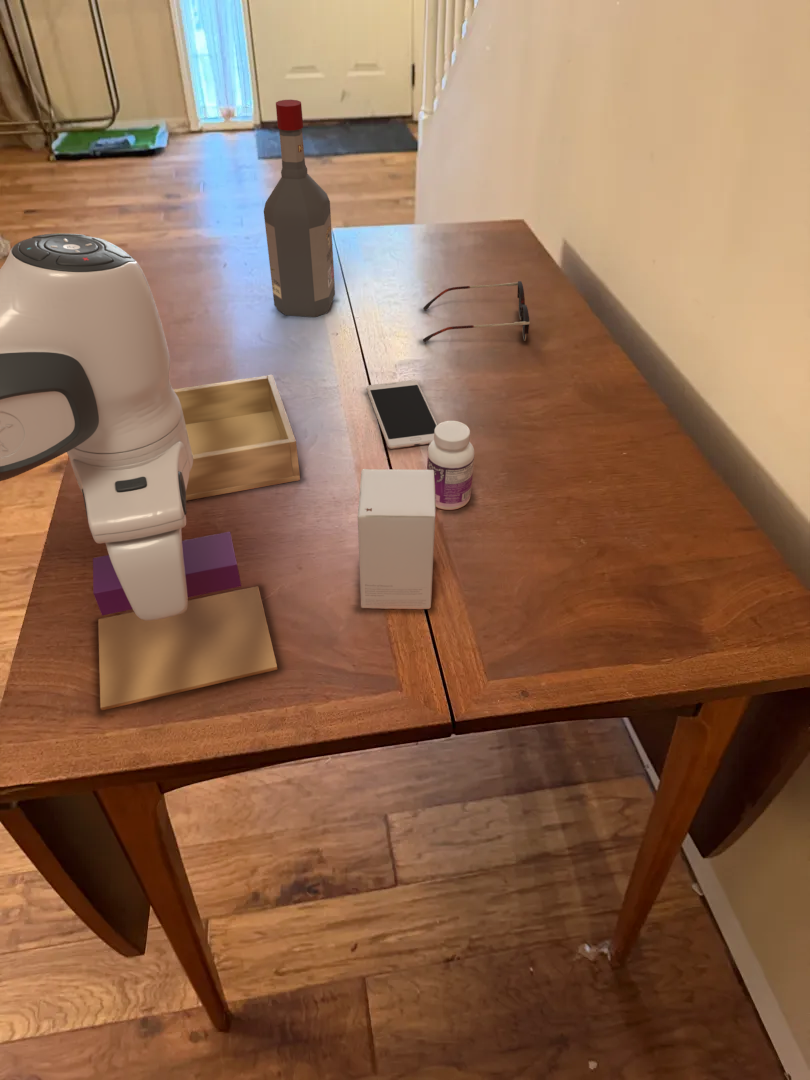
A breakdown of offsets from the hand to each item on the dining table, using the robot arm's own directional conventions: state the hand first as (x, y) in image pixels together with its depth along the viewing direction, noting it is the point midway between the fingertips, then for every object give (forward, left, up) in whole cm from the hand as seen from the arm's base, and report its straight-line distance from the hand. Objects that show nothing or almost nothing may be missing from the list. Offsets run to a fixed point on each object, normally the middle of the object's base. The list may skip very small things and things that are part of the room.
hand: (168, 576), depth 69 cm
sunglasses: (+50, +53, -10) cm, 73 cm away
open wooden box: (+6, +30, -10) cm, 32 cm away
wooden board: (0, 0, -10) cm, 10 cm away
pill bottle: (+32, +14, -10) cm, 36 cm away
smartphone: (+32, +32, -10) cm, 46 cm away
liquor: (+26, +68, -10) cm, 73 cm away
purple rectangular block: (0, 0, -1) cm, 1 cm away
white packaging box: (+22, +2, -10) cm, 24 cm away
